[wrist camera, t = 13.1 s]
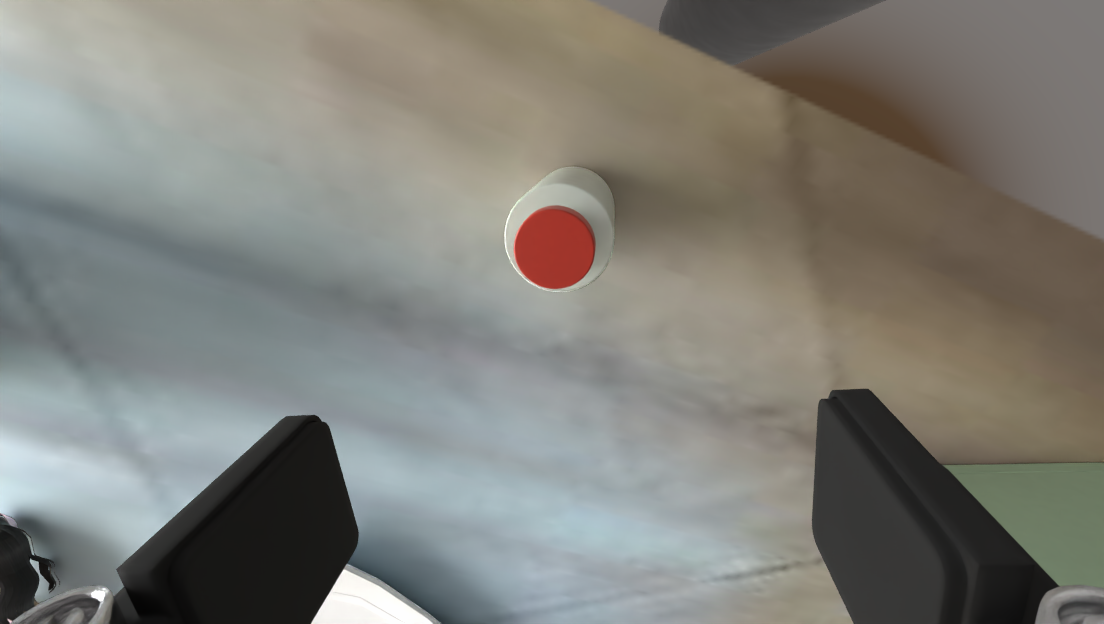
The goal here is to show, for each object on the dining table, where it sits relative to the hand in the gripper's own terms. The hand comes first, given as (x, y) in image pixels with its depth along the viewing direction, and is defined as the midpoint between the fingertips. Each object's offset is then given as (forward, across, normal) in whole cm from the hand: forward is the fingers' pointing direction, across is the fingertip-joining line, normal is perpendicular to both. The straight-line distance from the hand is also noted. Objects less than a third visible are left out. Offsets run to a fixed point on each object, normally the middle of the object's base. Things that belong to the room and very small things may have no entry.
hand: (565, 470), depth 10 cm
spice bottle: (+20, +1, -2) cm, 20 cm away
